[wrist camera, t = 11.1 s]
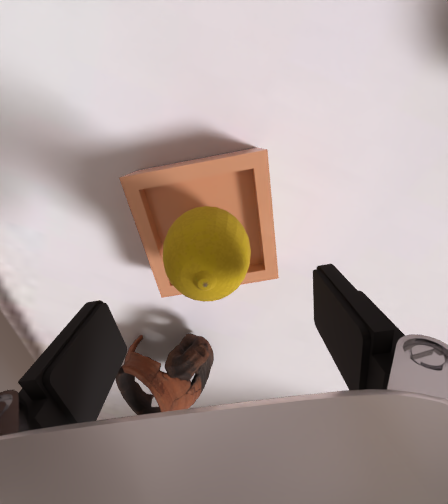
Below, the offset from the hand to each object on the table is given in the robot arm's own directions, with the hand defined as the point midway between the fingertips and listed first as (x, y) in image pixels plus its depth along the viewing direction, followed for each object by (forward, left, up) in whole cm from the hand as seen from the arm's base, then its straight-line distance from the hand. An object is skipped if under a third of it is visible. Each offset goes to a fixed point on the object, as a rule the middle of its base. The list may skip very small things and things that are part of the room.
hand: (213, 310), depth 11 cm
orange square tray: (0, -1, -12) cm, 12 cm away
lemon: (0, 0, -10) cm, 10 cm away
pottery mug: (+7, +15, -13) cm, 21 cm away
